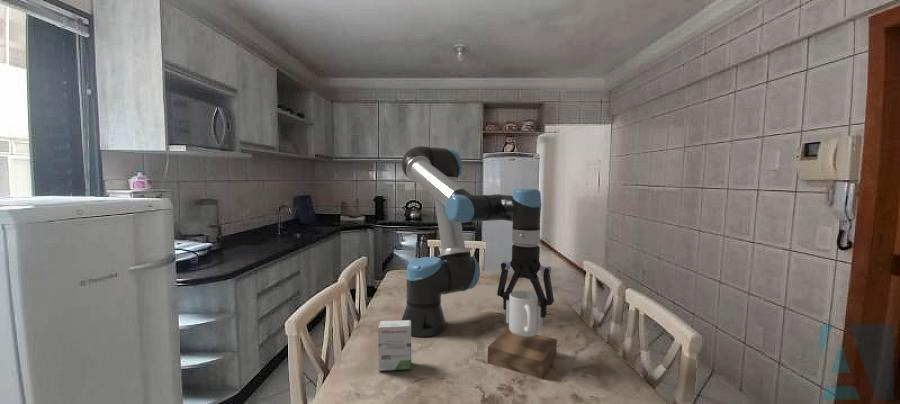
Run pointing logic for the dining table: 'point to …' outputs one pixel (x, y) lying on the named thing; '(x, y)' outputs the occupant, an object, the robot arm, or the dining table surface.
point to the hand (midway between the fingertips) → (524, 324)
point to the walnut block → (523, 353)
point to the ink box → (394, 345)
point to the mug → (523, 313)
